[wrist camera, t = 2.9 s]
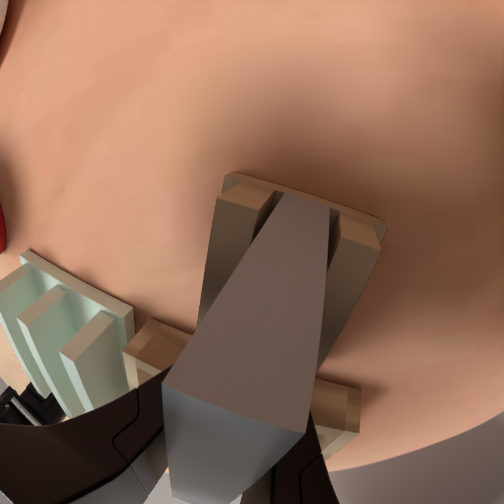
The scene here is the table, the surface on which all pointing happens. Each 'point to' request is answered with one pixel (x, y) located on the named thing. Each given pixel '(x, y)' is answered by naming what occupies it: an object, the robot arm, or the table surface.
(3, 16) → the flower in vase
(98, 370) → the dish rack
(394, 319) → the table surface
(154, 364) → the garlic trivet frame
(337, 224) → the plate stand
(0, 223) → the canned food
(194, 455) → the plate
